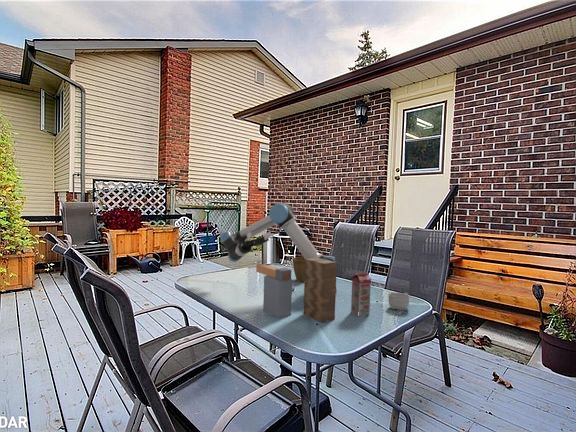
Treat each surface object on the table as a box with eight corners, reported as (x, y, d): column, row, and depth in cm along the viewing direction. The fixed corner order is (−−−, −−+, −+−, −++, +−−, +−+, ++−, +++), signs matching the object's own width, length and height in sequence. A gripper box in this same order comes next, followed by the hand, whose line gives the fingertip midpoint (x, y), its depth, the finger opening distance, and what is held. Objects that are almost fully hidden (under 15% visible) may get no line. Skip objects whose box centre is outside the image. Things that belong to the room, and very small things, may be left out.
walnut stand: (303, 314, 167) (305, 259, 166) (315, 311, 172) (317, 257, 170) (322, 322, 156) (325, 263, 155) (334, 319, 161) (336, 262, 160)
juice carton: (350, 312, 172) (352, 270, 171) (361, 311, 174) (363, 269, 173) (358, 316, 166) (360, 273, 165) (369, 315, 168) (371, 272, 167)
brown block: (254, 271, 178) (255, 262, 178) (263, 270, 182) (264, 261, 182) (281, 281, 160) (281, 270, 159) (291, 279, 163) (291, 269, 163)
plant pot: (312, 283, 231) (313, 260, 231) (291, 282, 231) (292, 259, 231) (311, 278, 246) (312, 257, 245) (291, 277, 246) (292, 256, 246)
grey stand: (263, 310, 170) (264, 275, 170) (275, 307, 175) (276, 274, 174) (278, 318, 160) (279, 281, 159) (291, 314, 165) (292, 279, 164)
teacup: (398, 313, 174) (399, 297, 173) (383, 306, 183) (384, 292, 183) (417, 309, 180) (417, 295, 180) (401, 304, 190) (402, 290, 189)
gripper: (262, 252, 210) (279, 238, 195) (226, 255, 194) (243, 240, 179) (259, 241, 212) (276, 227, 197) (223, 243, 197) (239, 228, 182)
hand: (260, 233), depth 188 cm, fingers open, 13 cm apart
